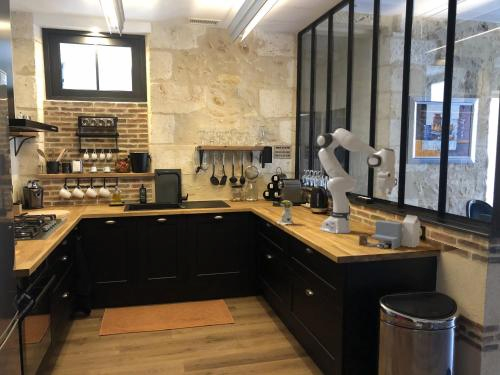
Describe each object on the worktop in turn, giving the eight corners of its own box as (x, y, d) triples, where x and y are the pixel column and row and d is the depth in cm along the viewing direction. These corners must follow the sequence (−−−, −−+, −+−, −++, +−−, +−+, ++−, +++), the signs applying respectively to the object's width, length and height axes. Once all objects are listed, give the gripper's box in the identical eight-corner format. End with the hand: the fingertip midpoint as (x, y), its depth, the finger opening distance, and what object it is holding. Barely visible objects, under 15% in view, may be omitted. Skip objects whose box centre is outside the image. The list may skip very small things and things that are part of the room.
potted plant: (284, 221, 324) (284, 198, 322) (297, 223, 315) (297, 200, 313) (274, 223, 316) (274, 200, 314) (287, 225, 307) (287, 201, 305)
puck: (376, 248, 240) (376, 245, 240) (377, 247, 243) (377, 244, 243) (382, 249, 238) (383, 246, 237) (384, 248, 241) (384, 245, 241)
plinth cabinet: (370, 245, 246) (371, 222, 244) (379, 242, 255) (380, 220, 254) (393, 249, 237) (394, 225, 235) (401, 245, 246) (402, 222, 245)
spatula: (359, 245, 247) (359, 235, 247) (360, 243, 251) (361, 234, 250) (387, 248, 239) (388, 238, 239) (389, 247, 243) (389, 237, 242)
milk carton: (412, 248, 240) (413, 216, 238) (401, 245, 246) (403, 215, 244) (419, 246, 245) (420, 215, 243) (408, 244, 250) (409, 214, 248)
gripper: (388, 172, 268) (388, 193, 270) (376, 174, 253) (375, 196, 254) (398, 173, 264) (397, 194, 266) (386, 174, 249) (385, 197, 250)
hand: (386, 195), depth 260 cm, fingers open, 8 cm apart
